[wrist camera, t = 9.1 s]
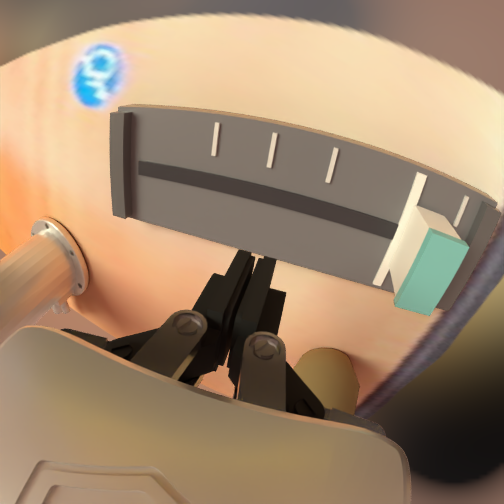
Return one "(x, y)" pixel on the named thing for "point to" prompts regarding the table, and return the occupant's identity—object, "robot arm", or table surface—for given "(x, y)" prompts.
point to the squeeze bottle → (330, 378)
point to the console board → (285, 191)
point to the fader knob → (425, 261)
